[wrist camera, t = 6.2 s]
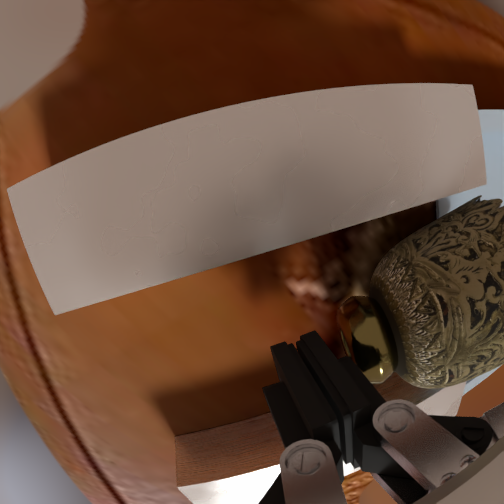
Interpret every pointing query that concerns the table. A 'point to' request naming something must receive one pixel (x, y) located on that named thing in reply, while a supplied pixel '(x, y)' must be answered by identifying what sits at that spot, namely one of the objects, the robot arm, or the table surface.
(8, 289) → the table surface
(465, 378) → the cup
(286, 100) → the groove rails
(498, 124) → the tray
